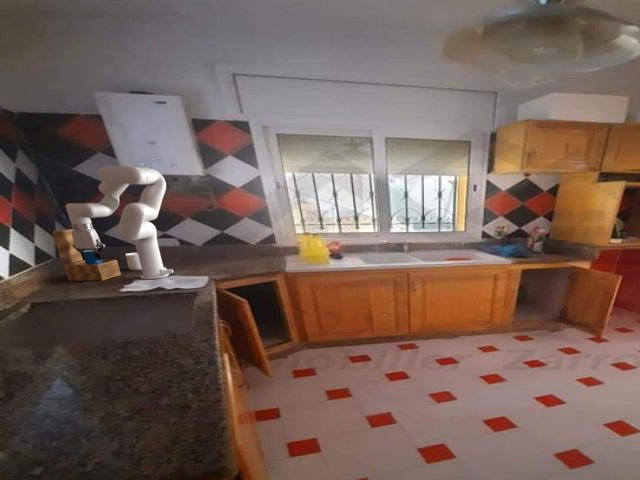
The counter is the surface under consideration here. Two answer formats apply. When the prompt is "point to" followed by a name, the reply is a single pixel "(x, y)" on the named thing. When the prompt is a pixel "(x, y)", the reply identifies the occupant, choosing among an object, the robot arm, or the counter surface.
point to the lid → (66, 246)
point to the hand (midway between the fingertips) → (93, 259)
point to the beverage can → (91, 257)
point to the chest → (92, 270)
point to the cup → (133, 261)
